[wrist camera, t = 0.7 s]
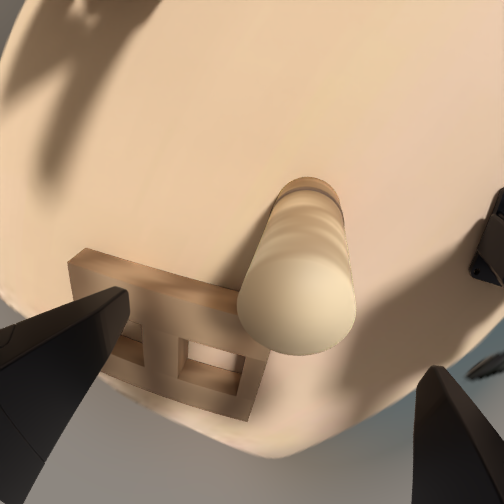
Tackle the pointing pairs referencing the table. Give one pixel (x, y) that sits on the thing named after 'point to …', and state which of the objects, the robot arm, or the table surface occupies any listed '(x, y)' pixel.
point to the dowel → (300, 274)
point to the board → (175, 334)
